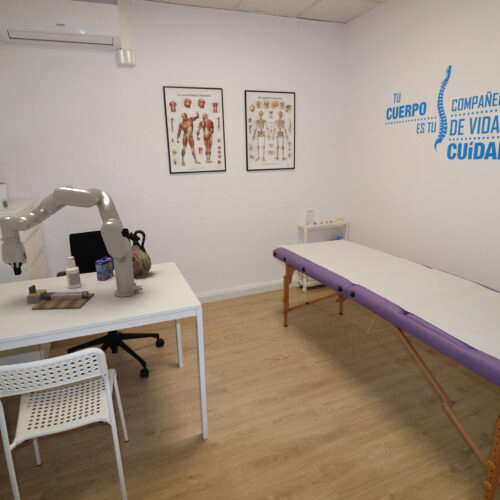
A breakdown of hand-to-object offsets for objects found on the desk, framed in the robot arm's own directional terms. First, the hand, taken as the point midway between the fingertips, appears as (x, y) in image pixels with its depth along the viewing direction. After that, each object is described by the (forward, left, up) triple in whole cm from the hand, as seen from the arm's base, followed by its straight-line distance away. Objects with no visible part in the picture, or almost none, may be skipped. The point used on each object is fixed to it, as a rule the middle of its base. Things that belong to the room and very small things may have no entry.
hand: (18, 274), depth 186 cm
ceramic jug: (-52, -37, -15) cm, 66 cm away
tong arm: (-23, 0, -14) cm, 27 cm away
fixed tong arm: (-22, -2, -14) cm, 26 cm away
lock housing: (-8, 0, -15) cm, 17 cm away
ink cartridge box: (-31, -34, -15) cm, 49 cm away
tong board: (-23, +3, -15) cm, 28 cm away
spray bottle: (-18, -20, -15) cm, 31 cm away
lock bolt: (-8, 0, -11) cm, 14 cm away
